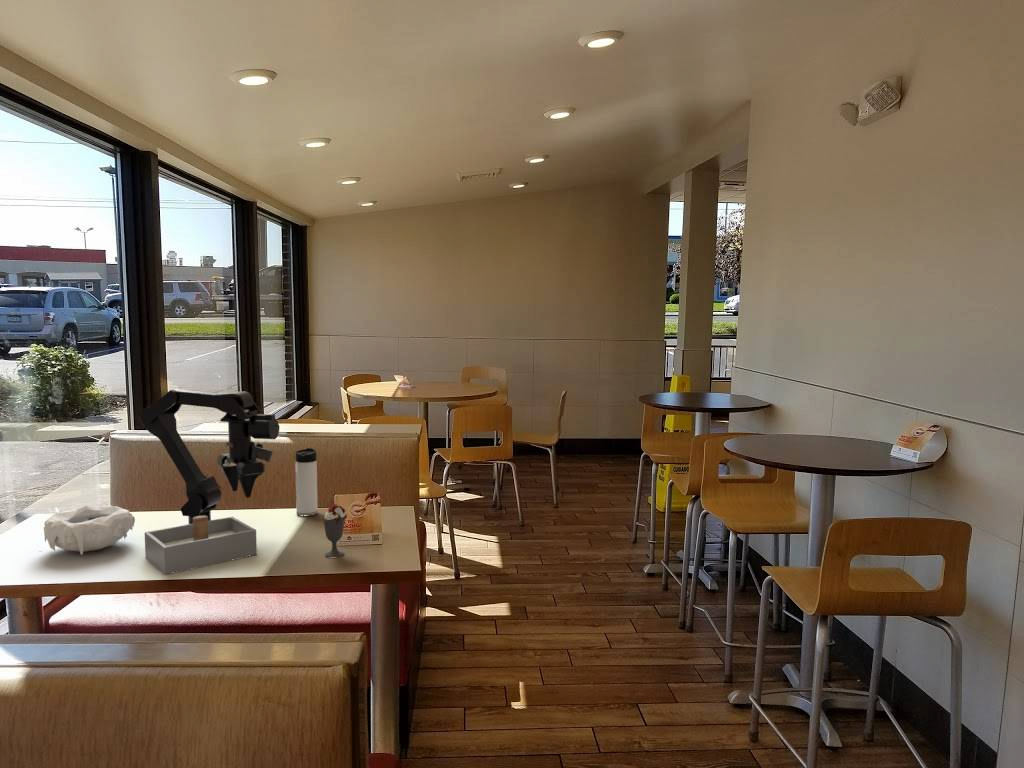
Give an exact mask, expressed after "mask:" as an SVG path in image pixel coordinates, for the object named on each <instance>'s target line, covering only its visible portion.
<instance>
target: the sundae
mask: <svg viewBox="0 0 1024 768" xmlns="http://www.w3.org/2000/svg"><path fill="white" fill-rule="evenodd" d="M329 501H330V503H329V507H328V508H327V511H326V512H325V514H324V515H322V516H320V519H321V520H322V521H323V524H324V525H323V526H324V531H325V532H324V533H325V537H326V538H327V540H328V541H330V542H331V549H330V550H329V551H327V552H326V553H325V554H324V556H325V555H326V556H327V557H338V558H341V557H340V556H342V557H343V556H345V552H343V551H339V550H338V546H337V545H338V544H337V543H338V542H339V541H340V540H341V539H342V537H343V533H344V525H345V521H346V519H347V518H348V514H347V513H345V512H346V509H345V508H344V507H342V506H341V505H338V504H336V503H334V502H333V499H330V500H329ZM331 504H332V505H331ZM327 557H326V558H327Z"/></svg>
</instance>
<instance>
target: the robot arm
mask: <svg viewBox="0 0 1024 768" xmlns="http://www.w3.org/2000/svg"><path fill="white" fill-rule="evenodd" d="M182 405H183V406H185V405H186V406H194V407H200V408H201V407H204V408H213V409H216V410H218V411H220V412H222V413H225V415H224V416H223V417H221V418H220V420H219V421H220V422H225V423H226V422H227V425H228V441H225V445H226V446H227V447H228V453H220V454H219V455H218V456H217V460H216V461H217V465H218V466H219V468H220V469H221V470H220V471H221V472H222V473H223V475H224V476H225V478H226V480H227V483H228V484H229V487H230V488H231V491H233V492H238V487H239V484H240V487H241V489H242V492H243V494H244V496H245V498H250V497H251V495H252V492H253V489H254V486H255V482H256V480H257V478H258V477H259V476H261V475H262V474H263V473H265V472H266V468H265V467H266V466H265V464H264V463H263V462H262V461H265V462H268V463H270V462H271V458H272V456H273V451H274V450H271V449H268V448H264V445H263V444H262V443H259V442H254V441H252V439H254V440H255V439H256V440H257V439H258V440H276V439H277V438H278V437H279V433H280V424H279V422H278V420H277V418H276V415H275V413H269V414H264V413H262V411H261V410H260V408H259V407H258V405H257V404H256V403H255V402H254V398H253V396H252V395H251V393H250V392H247V391H244V390H243V391H242V390H241V391H231V392H224V393H218V392H208V391H198V390H189V389H188V390H187V389H183V388H176V389H170V390H168V392H166V393H165V394H164V395H163V396H162V397H160V398H159V399H157V400H156V401H155V402H153V403H151V404H150V405H149V406H147V407H145V408H143V409H142V410H141V412H140V415H139V421H140V423H141V424H142V425H143V427H144V428H145V429H146V431H148V432H149V434H152V435H153V436H155V438H157V439H159V441H160V443H161V444H162V446H163V448H164V449H165V451H166V452H167V454H168V456H169V458H170V459H171V461H172V463H173V464H174V466H175V468H176V470H177V471H178V472H179V474H180V475H181V478H182V479H183V481H184V483H185V495H186V497H187V500H188V501H186V502H185V503H184V504H183V505H182V506H181V508H180V511H181V514H182V516H184V517H188V524H193V517H196V516H208V521H210V520H212V518H211V515H212V513H211V512H212V510H215V509H216V508H217V506H218V505H217V504H218V503H219V502H220V500H221V499H222V491H221V488H222V486H221V485H219V484H218V482H217V479H216V478H215V476H214V475H212V476H209V477H208V476H206V475H205V474H204V473H203V472H202V470H201V469H200V467H199V466H198V464H197V461H195V459H194V457H193V455H192V454H191V452H190V450H189V449H188V447H187V445H186V443H185V442H184V440H183V438H182V437H181V436H180V433H179V432H178V429H177V418H176V416H175V415H176V414H177V413H178V412H179V411H180V408H181V407H182ZM257 459H259V460H262V461H259V460H257Z"/></svg>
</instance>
